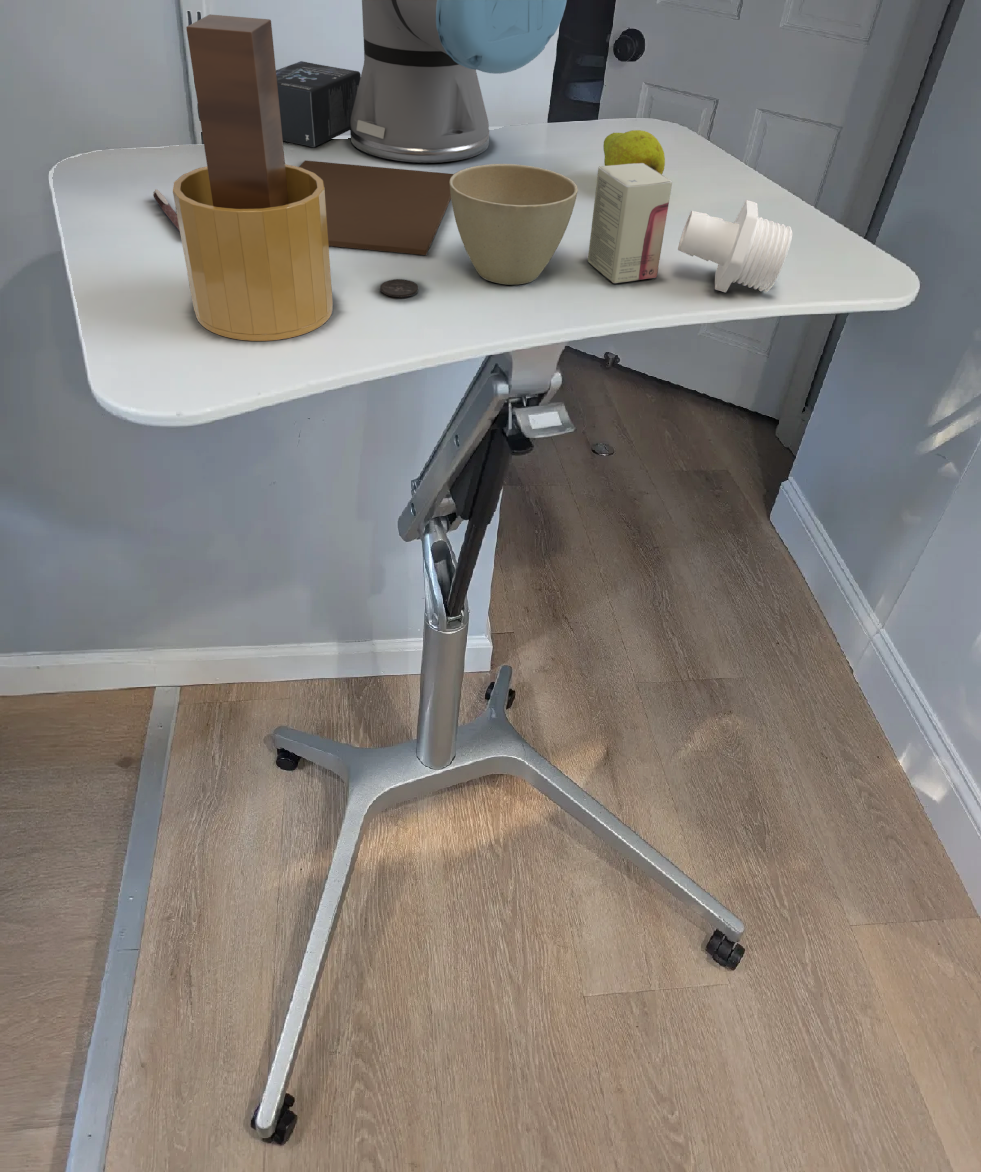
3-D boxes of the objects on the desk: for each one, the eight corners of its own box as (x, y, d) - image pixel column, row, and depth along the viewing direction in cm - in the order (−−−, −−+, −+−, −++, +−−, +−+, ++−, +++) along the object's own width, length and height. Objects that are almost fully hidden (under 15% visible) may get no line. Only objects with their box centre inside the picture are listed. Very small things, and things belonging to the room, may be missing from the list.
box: (361, 69, 100) (311, 91, 92) (363, 125, 104) (315, 150, 96) (300, 59, 102) (246, 79, 94) (304, 113, 105) (252, 137, 98)
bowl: (591, 286, 73) (603, 195, 68) (484, 307, 69) (489, 213, 65) (528, 242, 80) (534, 156, 75) (427, 259, 76) (427, 170, 71)
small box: (658, 279, 75) (675, 181, 70) (612, 285, 74) (627, 185, 68) (629, 256, 78) (643, 160, 73) (585, 261, 77) (596, 164, 72)
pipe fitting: (672, 252, 77) (760, 280, 77) (668, 284, 72) (763, 314, 72) (700, 177, 73) (794, 207, 73) (698, 205, 68) (799, 237, 68)
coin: (409, 300, 69) (423, 284, 72) (409, 298, 69) (423, 282, 71) (374, 294, 70) (389, 278, 72) (373, 291, 70) (388, 276, 72)
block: (246, 289, 68) (208, 14, 56) (297, 295, 68) (271, 19, 56) (229, 312, 65) (185, 26, 53) (282, 318, 65) (251, 32, 53)
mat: (305, 165, 92) (304, 160, 92) (459, 179, 91) (459, 174, 91) (242, 237, 77) (241, 232, 77) (426, 255, 76) (426, 249, 76)
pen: (151, 197, 83) (149, 186, 82) (160, 197, 83) (158, 185, 82) (185, 242, 75) (183, 230, 75) (194, 240, 76) (192, 228, 75)
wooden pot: (222, 276, 71) (203, 155, 65) (346, 288, 71) (339, 168, 65) (174, 333, 64) (149, 203, 58) (313, 347, 63) (301, 217, 57)
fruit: (612, 190, 87) (562, 154, 95) (657, 211, 90) (605, 175, 98) (642, 129, 84) (588, 98, 92) (687, 154, 87) (631, 121, 95)
